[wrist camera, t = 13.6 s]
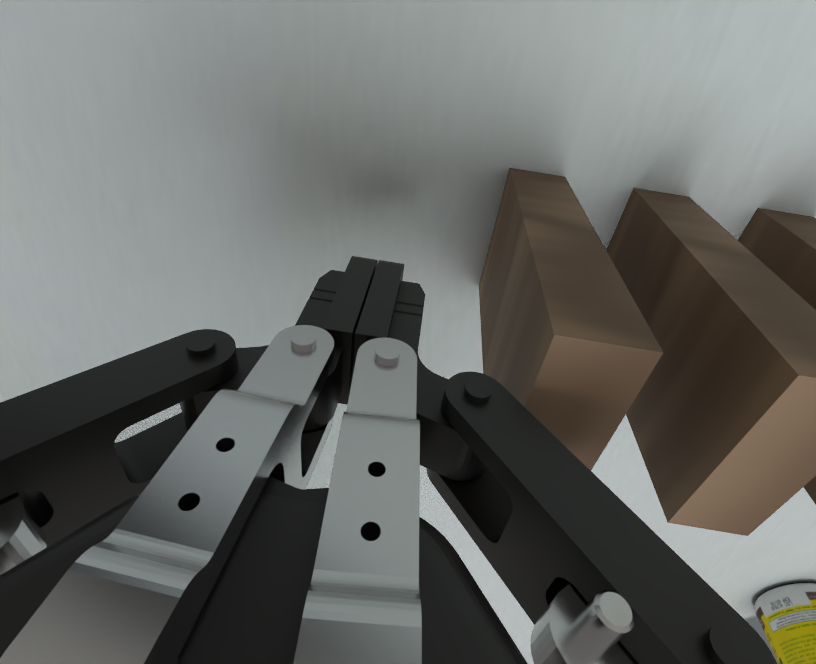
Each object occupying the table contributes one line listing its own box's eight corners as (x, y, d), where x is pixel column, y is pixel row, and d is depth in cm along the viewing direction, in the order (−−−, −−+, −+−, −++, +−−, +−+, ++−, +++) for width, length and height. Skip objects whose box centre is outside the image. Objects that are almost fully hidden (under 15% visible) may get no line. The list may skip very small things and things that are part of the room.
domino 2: (583, 303, 19) (667, 522, 11) (633, 188, 16) (799, 375, 8) (629, 311, 19) (748, 535, 11) (689, 197, 16) (909, 393, 8)
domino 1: (479, 286, 19) (489, 493, 11) (509, 167, 16) (554, 334, 8) (525, 293, 19) (568, 505, 11) (564, 177, 16) (663, 352, 8)
